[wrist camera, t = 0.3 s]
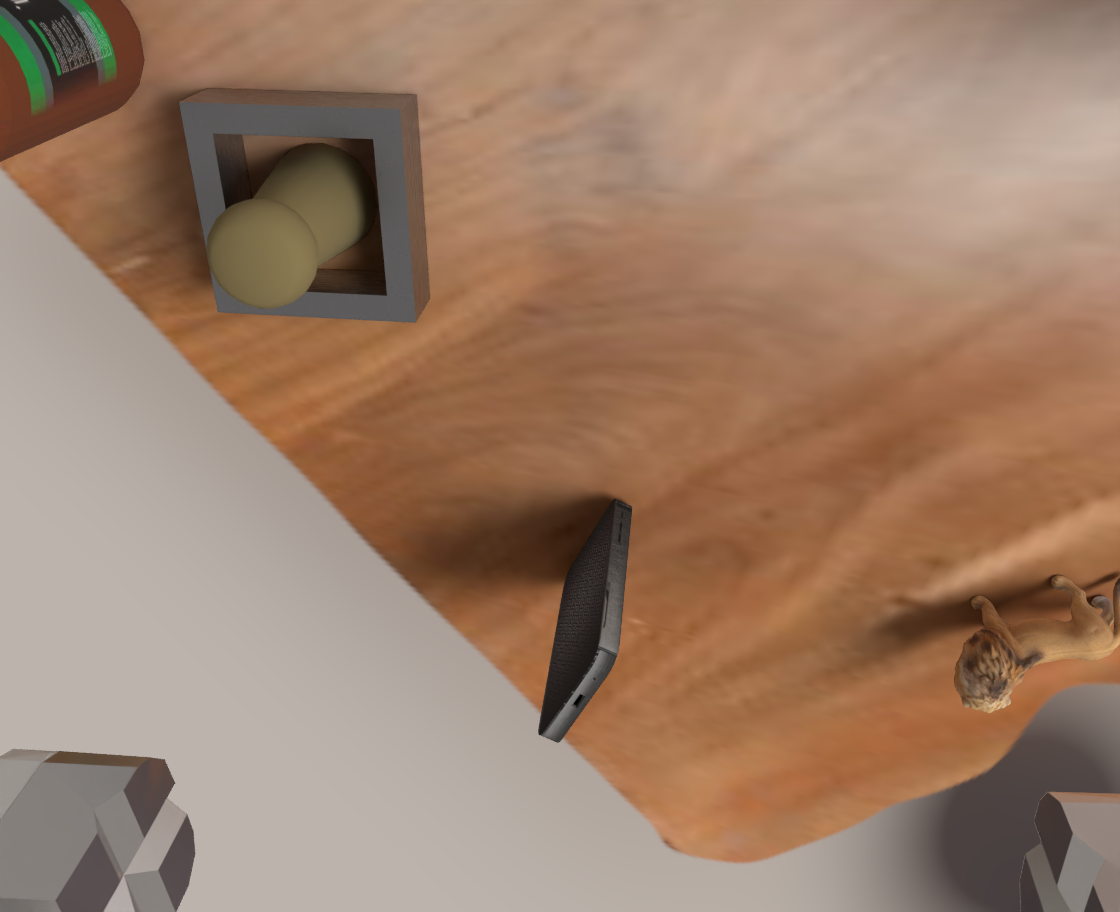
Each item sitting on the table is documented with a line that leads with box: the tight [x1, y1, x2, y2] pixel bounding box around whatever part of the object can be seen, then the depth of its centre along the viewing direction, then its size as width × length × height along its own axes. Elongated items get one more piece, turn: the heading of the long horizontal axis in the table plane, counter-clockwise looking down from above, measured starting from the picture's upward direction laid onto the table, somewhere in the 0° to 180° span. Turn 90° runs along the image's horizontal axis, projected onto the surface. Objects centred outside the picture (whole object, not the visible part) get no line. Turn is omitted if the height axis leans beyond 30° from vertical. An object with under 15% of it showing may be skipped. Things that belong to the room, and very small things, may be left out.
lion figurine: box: [954, 575, 1120, 713], centre depth 61 cm, size 12×4×7 cm, turn 121°
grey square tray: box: [179, 88, 430, 323], centre depth 54 cm, size 11×11×4 cm
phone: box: [538, 499, 632, 742], centre depth 59 cm, size 8×1×15 cm, turn 155°
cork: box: [206, 143, 377, 309], centre depth 51 cm, size 6×6×11 cm
